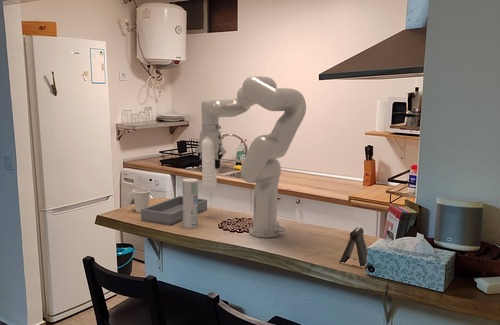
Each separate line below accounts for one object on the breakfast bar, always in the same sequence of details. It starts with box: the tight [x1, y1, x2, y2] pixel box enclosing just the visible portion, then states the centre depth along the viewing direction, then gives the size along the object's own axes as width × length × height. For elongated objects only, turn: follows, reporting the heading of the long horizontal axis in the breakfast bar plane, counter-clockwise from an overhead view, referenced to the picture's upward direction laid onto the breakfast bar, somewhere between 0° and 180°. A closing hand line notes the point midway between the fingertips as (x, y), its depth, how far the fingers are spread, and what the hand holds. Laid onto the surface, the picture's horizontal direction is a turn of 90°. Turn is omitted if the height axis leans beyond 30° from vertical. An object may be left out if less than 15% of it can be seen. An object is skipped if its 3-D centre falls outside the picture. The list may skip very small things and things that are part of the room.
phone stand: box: [339, 226, 368, 266], centre depth 149 cm, size 9×6×12 cm, turn 59°
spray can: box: [182, 178, 199, 229], centre depth 186 cm, size 6×6×20 cm
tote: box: [140, 195, 208, 226], centre depth 203 cm, size 16×30×5 cm, turn 155°
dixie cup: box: [131, 188, 151, 213], centre depth 209 cm, size 8×8×10 cm
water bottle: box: [201, 136, 218, 189], centre depth 198 cm, size 9×6×25 cm
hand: (210, 167), depth 198 cm, fingers closed on water bottle, 6 cm apart
